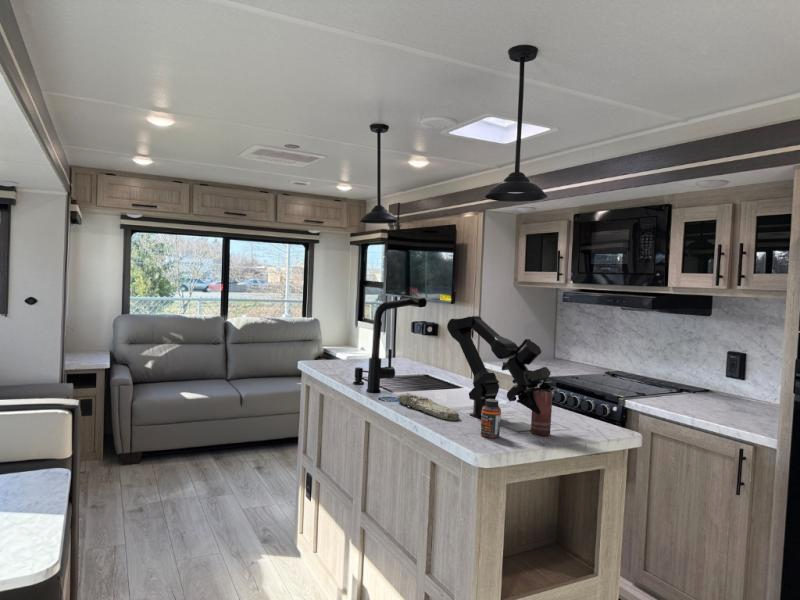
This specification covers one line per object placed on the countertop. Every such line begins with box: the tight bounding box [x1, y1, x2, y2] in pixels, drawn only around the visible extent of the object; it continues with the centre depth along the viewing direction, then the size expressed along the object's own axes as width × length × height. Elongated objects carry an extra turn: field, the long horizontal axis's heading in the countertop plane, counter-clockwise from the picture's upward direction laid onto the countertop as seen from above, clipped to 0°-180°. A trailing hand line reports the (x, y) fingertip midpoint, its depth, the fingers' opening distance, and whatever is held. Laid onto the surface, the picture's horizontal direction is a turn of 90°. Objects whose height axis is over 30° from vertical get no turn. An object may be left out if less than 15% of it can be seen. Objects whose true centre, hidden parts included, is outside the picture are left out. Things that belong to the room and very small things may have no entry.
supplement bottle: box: [480, 399, 502, 439], centre depth 178 cm, size 6×6×11 cm
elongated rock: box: [397, 392, 460, 421], centre depth 211 cm, size 35×5×10 cm
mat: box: [500, 421, 531, 433], centre depth 191 cm, size 10×10×1 cm
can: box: [530, 389, 553, 437], centre depth 183 cm, size 6×6×14 cm
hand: (545, 413), depth 182 cm, fingers closed on can, 5 cm apart
